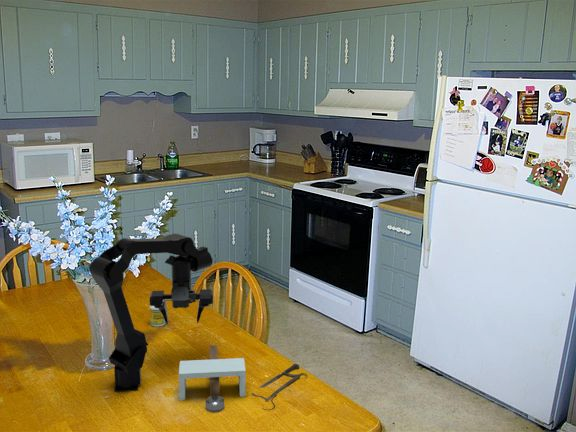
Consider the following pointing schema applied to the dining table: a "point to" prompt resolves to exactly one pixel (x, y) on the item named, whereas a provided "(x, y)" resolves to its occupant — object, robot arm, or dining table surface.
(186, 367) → the plinth bridge
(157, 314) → the supplement bottle
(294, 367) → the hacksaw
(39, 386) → the dining table surface
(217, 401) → the steel puck
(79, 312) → the dining table surface
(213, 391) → the walnut batten
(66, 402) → the dining table surface
